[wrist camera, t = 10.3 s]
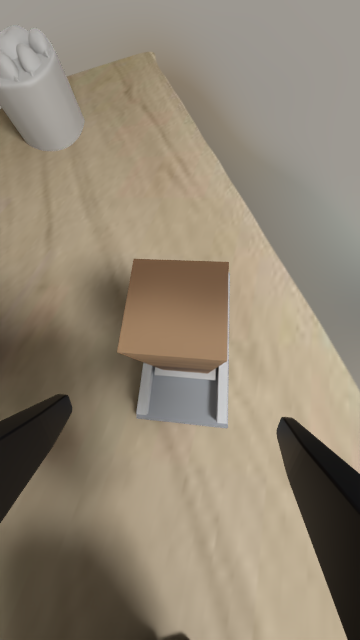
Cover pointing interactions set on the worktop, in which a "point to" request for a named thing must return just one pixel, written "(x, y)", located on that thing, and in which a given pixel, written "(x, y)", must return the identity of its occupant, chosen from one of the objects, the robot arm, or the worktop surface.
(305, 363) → the worktop surface
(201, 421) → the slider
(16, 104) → the lumpy-topped squat cylinder
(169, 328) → the brown rectangular block
